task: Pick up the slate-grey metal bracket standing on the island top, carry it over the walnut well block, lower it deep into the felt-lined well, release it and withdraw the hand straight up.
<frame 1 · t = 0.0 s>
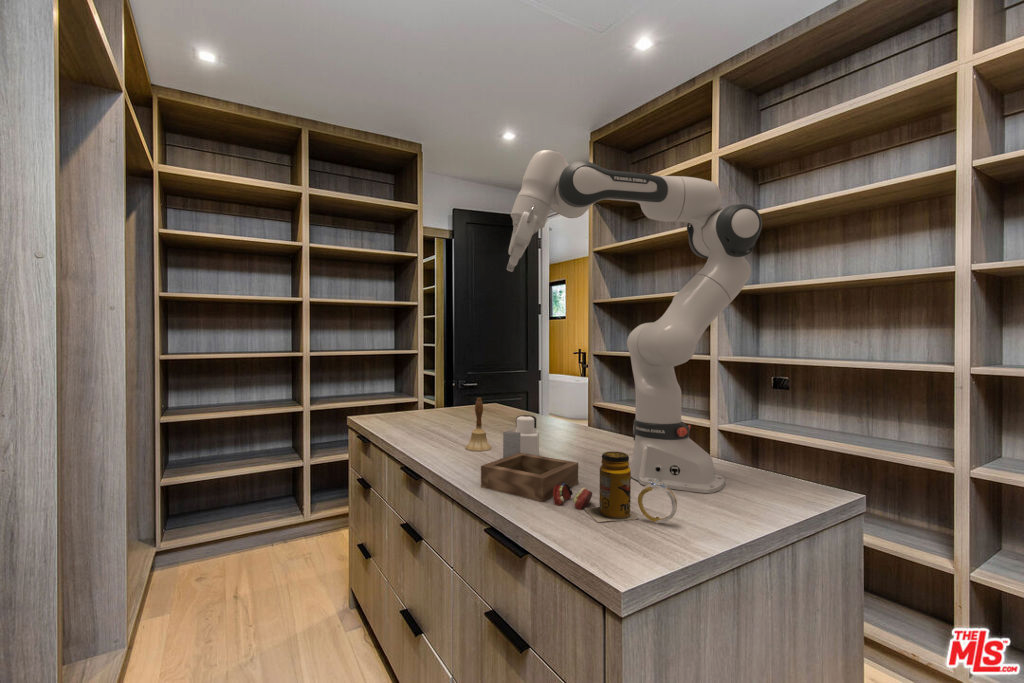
hand: (511, 267, 117), 52 cm above the table, tool tilted 20°, fingers open, 8 cm apart
bracelet: (657, 524, 91), on the table
well block: (530, 485, 113), on the table
hand bell: (478, 449, 151), on the table
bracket: (511, 465, 131), on the table
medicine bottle: (525, 457, 140), on the table
condiment: (610, 515, 95), on the table
dentures model: (572, 505, 101), on the table
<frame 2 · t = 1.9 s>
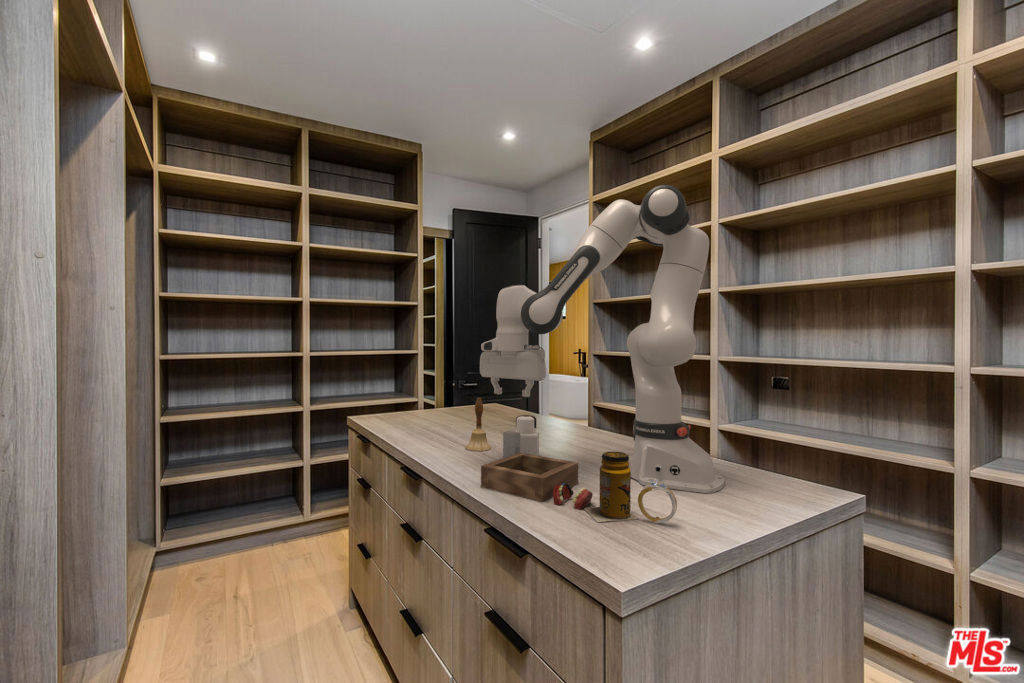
hand: (511, 395, 131), 19 cm above the table, tool pointing down, fingers open, 8 cm apart
nothing on the table moved.
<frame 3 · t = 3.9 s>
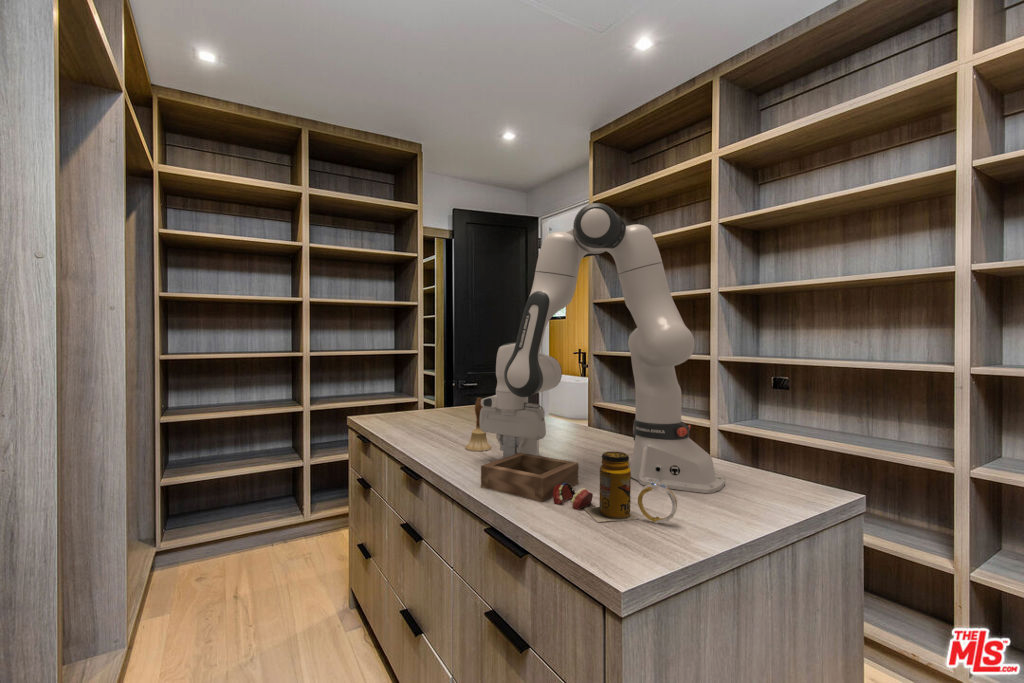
hand: (511, 451, 131), 4 cm above the table, tool pointing down, fingers closed on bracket, 4 cm apart
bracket: (511, 465, 131), on the table, touching gripper
everything else where it was.
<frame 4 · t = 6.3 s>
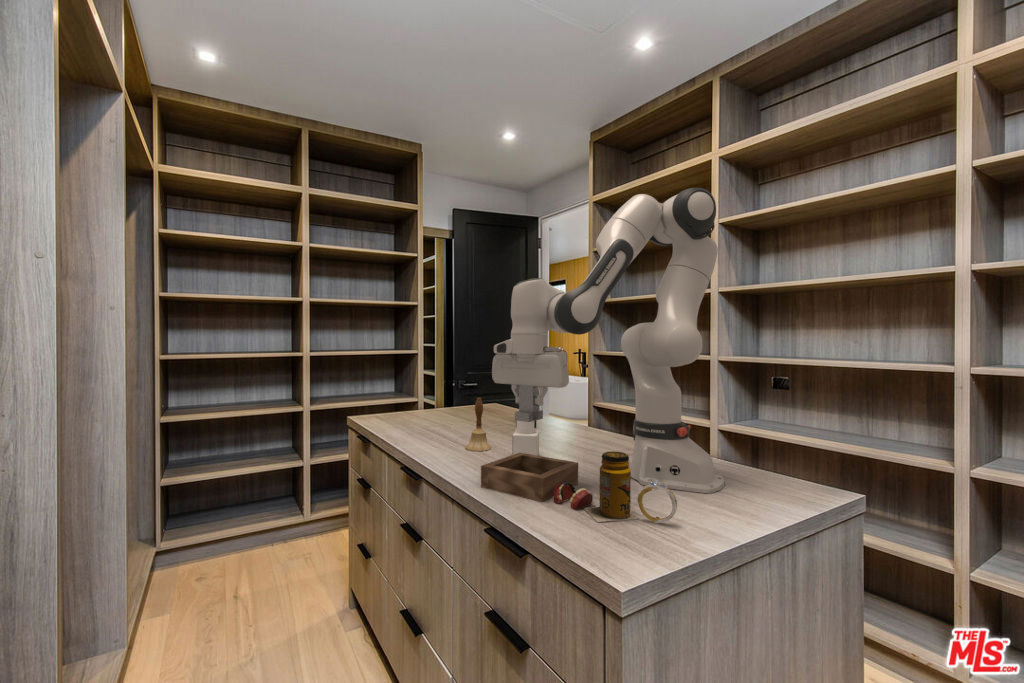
hand: (529, 404, 114), 19 cm above the table, tool pointing down, fingers closed on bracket, 4 cm apart
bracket: (528, 419, 114), point 15 cm above the table, touching gripper
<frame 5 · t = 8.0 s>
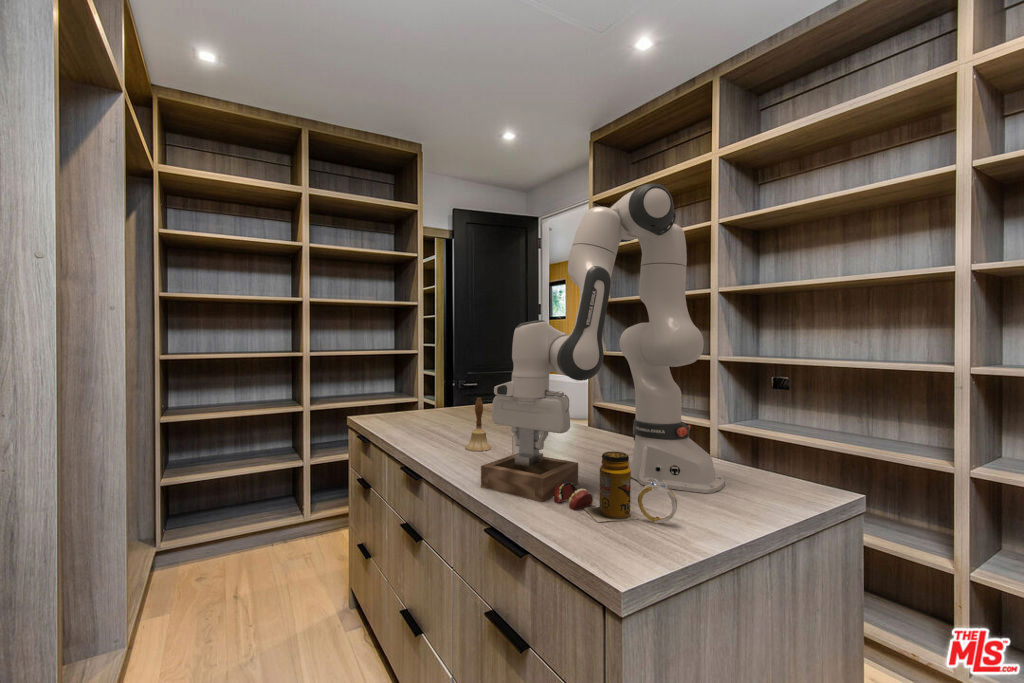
hand: (529, 447, 113), 9 cm above the table, tool pointing down, fingers closed on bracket, 4 cm apart
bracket: (528, 462, 113), point 5 cm above the table, touching gripper
when the fingers open (5 cm above the table, at t = 9.1 s): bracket drops 1 cm, resting on well block.
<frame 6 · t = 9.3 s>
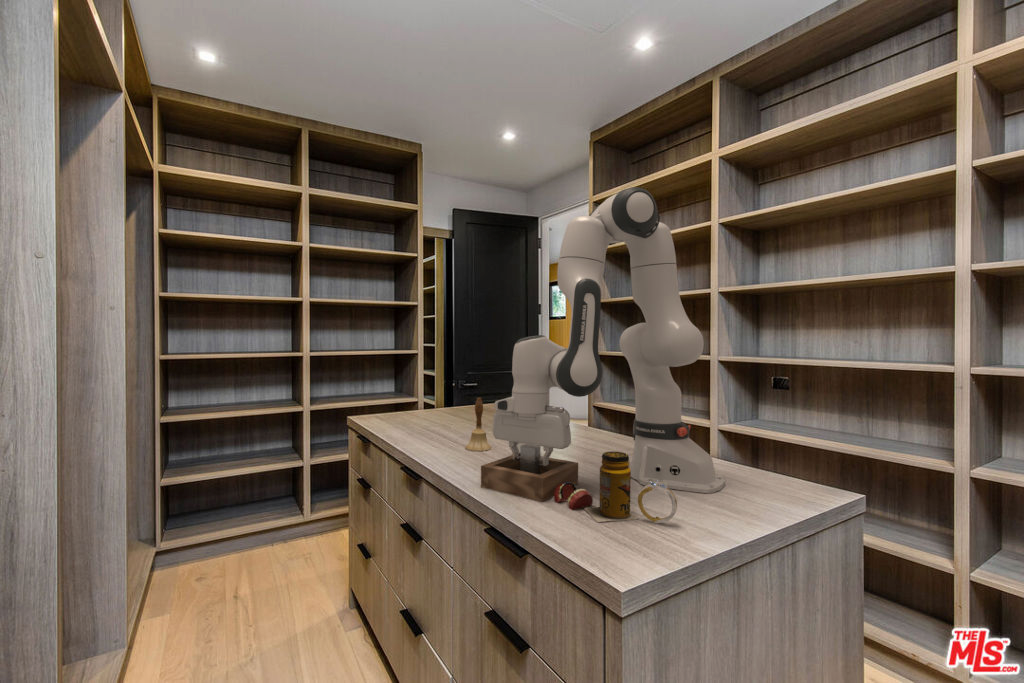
hand: (530, 462, 113), 5 cm above the table, tool pointing down, fingers open, 6 cm apart
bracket: (530, 484, 113), resting on well block
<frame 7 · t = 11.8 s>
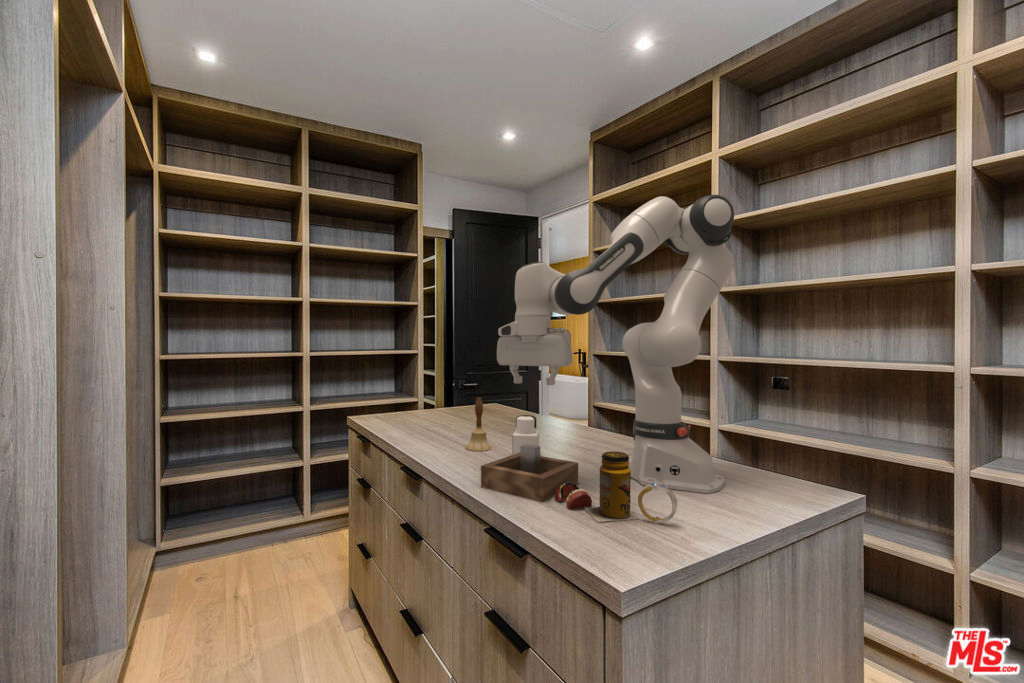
hand: (534, 384, 119), 23 cm above the table, tool pointing down, fingers open, 8 cm apart
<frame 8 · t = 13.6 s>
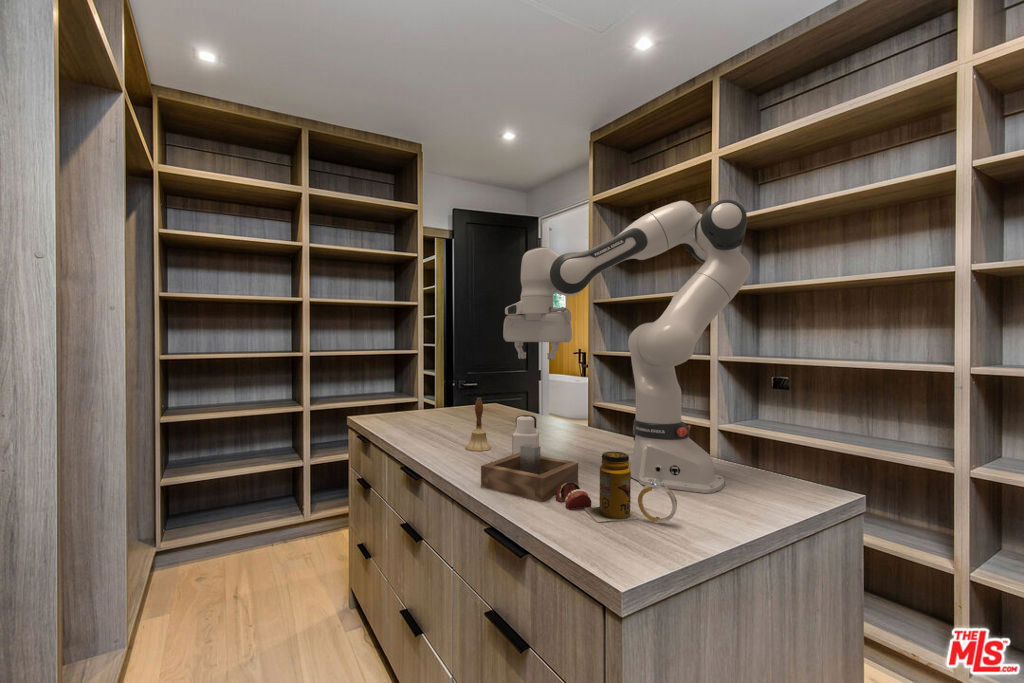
hand: (536, 359, 130), 29 cm above the table, tool pointing down, fingers open, 8 cm apart
at the end: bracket inside the target area on the well block (0.1 cm from its centre), point 0.3 cm above the well block's base; the gripper is holding nothing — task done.
